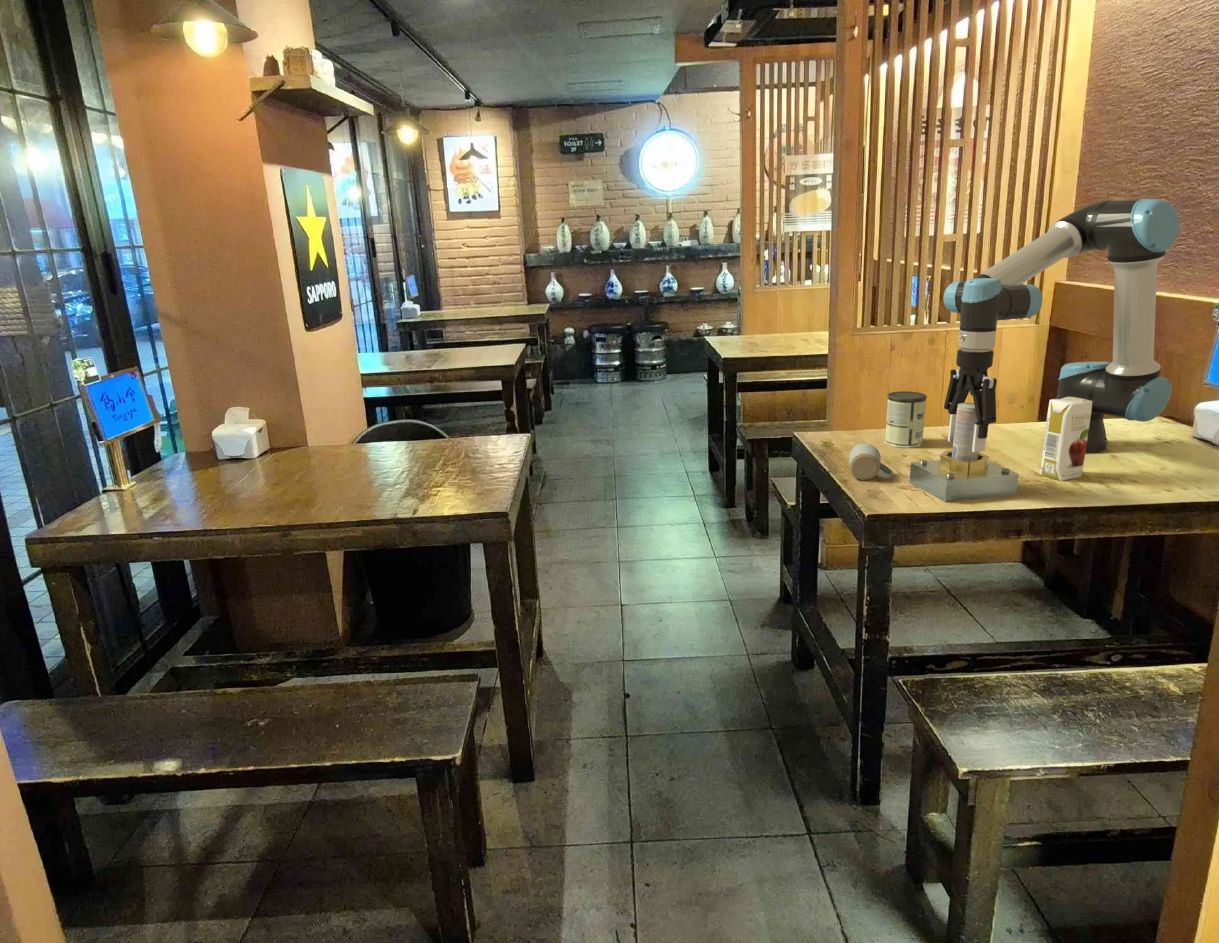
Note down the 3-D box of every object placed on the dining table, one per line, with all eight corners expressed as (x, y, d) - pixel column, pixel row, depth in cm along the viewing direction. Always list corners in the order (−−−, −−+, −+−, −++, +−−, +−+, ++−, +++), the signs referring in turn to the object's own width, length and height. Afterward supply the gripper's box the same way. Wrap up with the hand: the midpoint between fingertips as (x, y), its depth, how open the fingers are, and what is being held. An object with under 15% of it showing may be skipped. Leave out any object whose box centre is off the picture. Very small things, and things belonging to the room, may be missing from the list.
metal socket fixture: (976, 476, 200) (979, 444, 197) (1016, 494, 186) (1020, 461, 183) (909, 482, 197) (912, 450, 194) (945, 502, 182) (948, 468, 180)
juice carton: (1034, 474, 199) (1044, 398, 194) (1059, 469, 203) (1069, 395, 197) (1061, 482, 193) (1072, 404, 187) (1086, 477, 196) (1098, 400, 190)
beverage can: (979, 471, 186) (986, 407, 182) (953, 470, 187) (960, 407, 183) (973, 464, 192) (981, 402, 187) (948, 463, 193) (955, 401, 188)
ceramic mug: (848, 480, 200) (850, 450, 197) (847, 470, 207) (850, 441, 205) (893, 483, 197) (896, 453, 194) (891, 473, 204) (894, 444, 202)
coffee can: (889, 437, 237) (892, 389, 233) (926, 441, 231) (930, 392, 227) (879, 445, 229) (883, 396, 224) (917, 450, 223) (922, 399, 219)
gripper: (933, 343, 191) (925, 436, 197) (990, 357, 171) (979, 459, 177) (962, 341, 192) (953, 433, 199) (1022, 355, 172) (1010, 457, 178)
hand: (965, 446), depth 188 cm, fingers open, 9 cm apart
